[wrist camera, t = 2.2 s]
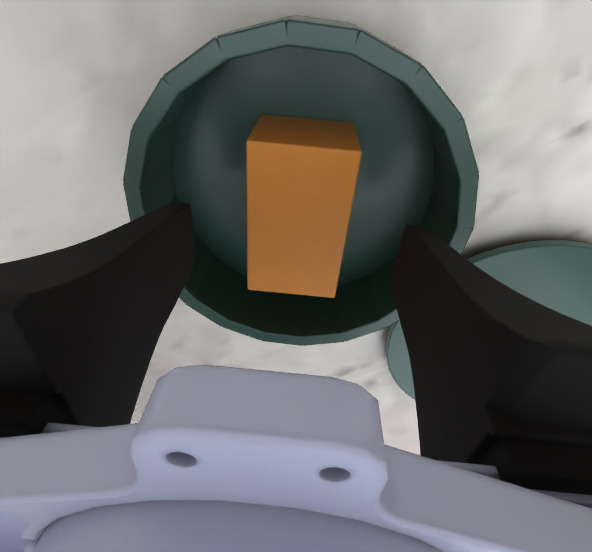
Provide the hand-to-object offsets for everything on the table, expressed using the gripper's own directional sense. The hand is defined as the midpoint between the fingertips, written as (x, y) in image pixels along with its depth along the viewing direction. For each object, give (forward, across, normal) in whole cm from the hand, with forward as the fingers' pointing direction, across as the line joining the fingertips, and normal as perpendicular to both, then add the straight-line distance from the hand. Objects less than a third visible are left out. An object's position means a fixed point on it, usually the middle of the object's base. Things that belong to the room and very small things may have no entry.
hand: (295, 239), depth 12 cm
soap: (+4, 0, 0) cm, 4 cm away
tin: (+4, 0, 0) cm, 5 cm away
